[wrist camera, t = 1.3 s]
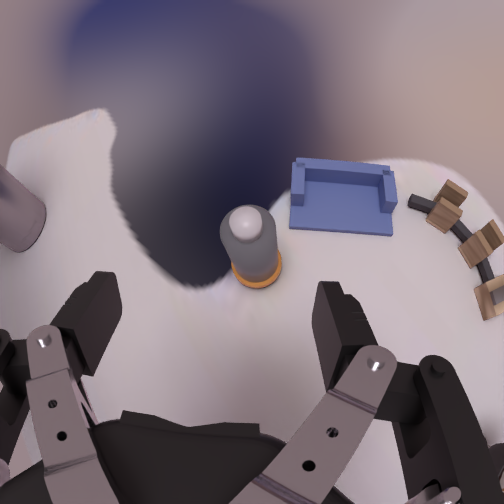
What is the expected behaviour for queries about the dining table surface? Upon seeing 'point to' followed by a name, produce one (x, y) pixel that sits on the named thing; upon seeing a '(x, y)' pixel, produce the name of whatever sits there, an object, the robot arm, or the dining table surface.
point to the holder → (342, 197)
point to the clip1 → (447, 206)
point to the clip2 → (481, 244)
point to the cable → (457, 228)
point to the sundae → (498, 461)
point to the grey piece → (252, 245)
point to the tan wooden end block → (491, 297)
